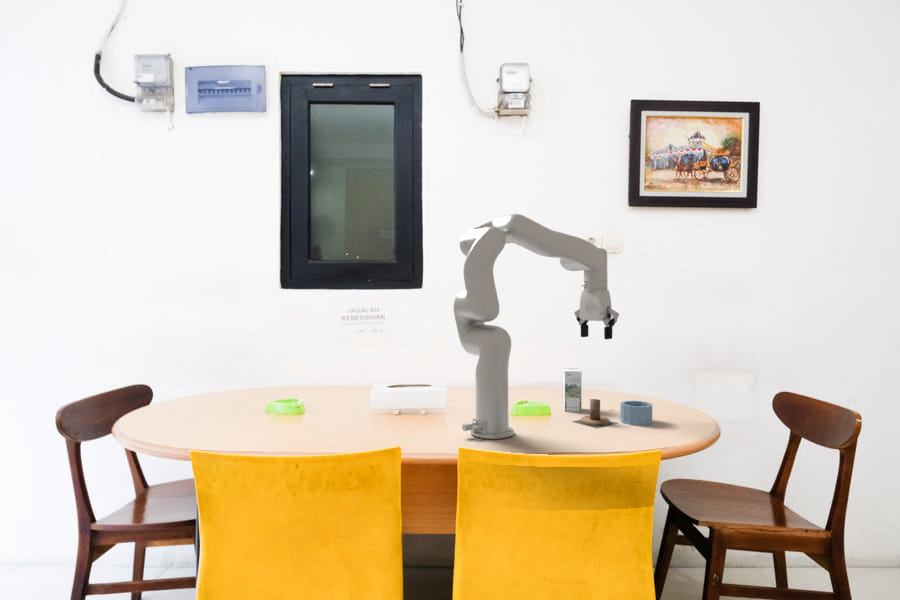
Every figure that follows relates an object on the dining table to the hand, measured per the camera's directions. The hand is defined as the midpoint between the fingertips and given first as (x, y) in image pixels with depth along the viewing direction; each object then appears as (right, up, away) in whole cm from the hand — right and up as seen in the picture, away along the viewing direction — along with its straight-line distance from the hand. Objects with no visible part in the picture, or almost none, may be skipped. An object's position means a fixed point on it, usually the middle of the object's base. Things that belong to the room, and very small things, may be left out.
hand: (596, 337), depth 175 cm
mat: (-3, -26, -10) cm, 28 cm away
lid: (-3, -26, -10) cm, 28 cm away
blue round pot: (+10, -26, -9) cm, 29 cm away
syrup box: (-6, -26, +8) cm, 28 cm away
